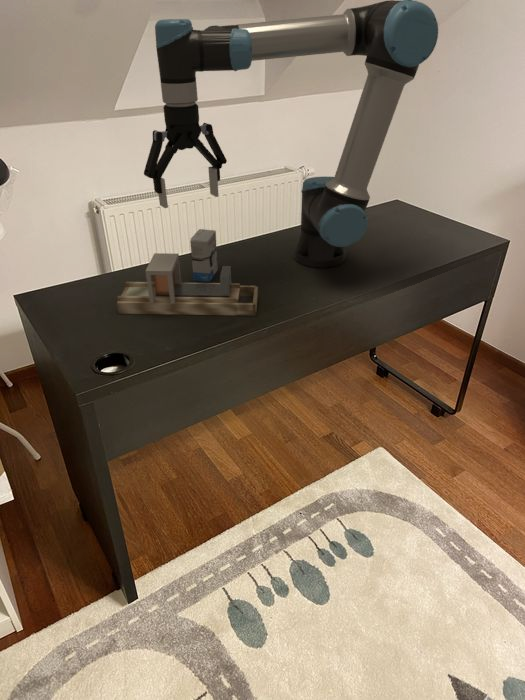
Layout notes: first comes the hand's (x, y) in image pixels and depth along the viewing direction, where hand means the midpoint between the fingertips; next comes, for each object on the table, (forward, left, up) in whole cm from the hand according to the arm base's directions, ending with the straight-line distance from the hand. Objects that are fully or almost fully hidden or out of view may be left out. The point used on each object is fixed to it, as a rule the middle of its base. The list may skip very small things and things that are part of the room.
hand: (189, 200), depth 125 cm
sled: (-1, +8, -20) cm, 22 cm away
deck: (+1, +8, -24) cm, 25 cm away
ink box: (-1, -9, -24) cm, 25 cm away
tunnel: (+6, +8, -21) cm, 23 cm away
